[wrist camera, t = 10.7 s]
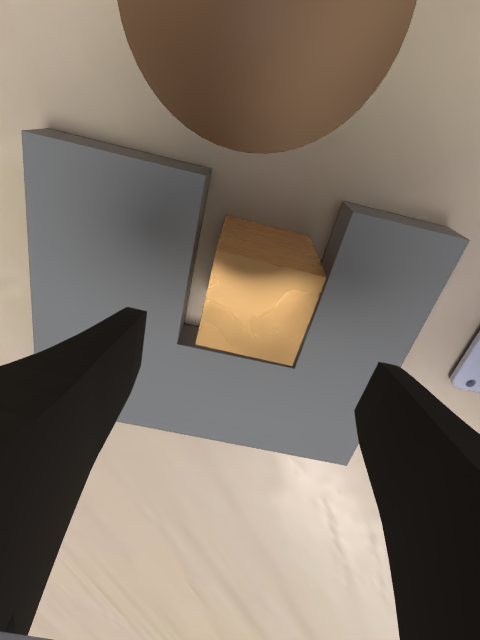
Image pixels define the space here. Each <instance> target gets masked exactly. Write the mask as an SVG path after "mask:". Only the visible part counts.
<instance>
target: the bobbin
mask: <svg viewBox="0 0 480 640" xmlns="http://www.w3.org/2000/svg"><path fill="white" fill-rule="evenodd" d="M117 1H118V6H119V11H120V16H121V21H122V24H123V28H124V31H125V34H126V37H127V40H128V44H129V46H130V49H131V51H132V53H133V56H134V58H135V60H136V63H137V65H138V67H139V69H140V70H141V72H142V74H143V76H144V78H145V79H146V81H147V83H148V85H149V86H150V87H151V89H152V90H153V92H154V93H155V94H156V96H157V97H158V99H159V100H160V101H161V102H162V104H163V105H164V106H165V107H166V108H167V109H168V110H169V111H170V112H171V113H172V115H173V116H175V117H176V118H177V119H178V120H179V121H180V122H181V123H183V124H184V125H185V126H186V127H187V128H189V129H190V130H192V131H193V132H195V133H196V134H198V135H199V136H201V137H202V138H205V139H207V140H209V141H211V142H213V143H215V144H217V145H220V146H223V147H226V148H229V149H232V150H236V151H242V152H248V153H275V152H283V151H287V150H291V149H295V148H299V147H302V146H304V145H306V144H309V143H311V142H314V141H316V140H318V139H320V138H322V137H323V136H325V135H327V134H329V133H330V132H332V131H333V130H335V129H336V128H337V127H339V126H340V125H341V124H343V123H344V122H346V121H347V120H348V119H349V118H350V117H351V116H352V115H353V114H354V113H355V112H356V111H358V110H359V109H360V108H361V107H362V106H363V104H364V103H365V102H366V101H367V100H368V99H369V97H370V96H371V95H372V94H373V93H374V91H375V90H376V89H377V87H378V86H379V84H380V83H381V81H382V80H383V78H384V77H385V76H386V74H387V73H388V71H389V69H390V67H391V65H392V63H393V62H394V60H395V58H396V56H397V54H398V52H399V50H400V48H401V45H402V43H403V40H404V38H405V36H406V33H407V31H408V28H409V25H410V22H411V18H412V15H413V12H414V8H415V5H416V0H117Z"/></svg>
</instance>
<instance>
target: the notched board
mask: <svg viewBox="0 0 480 640" xmlns="http://www.w3.org/2000/svg"><path fill="white" fill-rule="evenodd" d="M22 146H23V163H24V181H25V198H26V216H27V233H28V251H29V268H30V286H31V303H32V321H33V338H34V354H36V353H38V352H41V351H43V350H45V349H48V348H50V347H52V346H54V345H56V344H58V343H61V342H63V341H65V340H67V339H69V338H71V337H73V336H75V335H77V334H79V333H81V332H83V331H85V330H87V329H88V328H90V327H92V326H94V325H96V324H97V323H99V322H101V321H103V320H104V319H106V318H108V317H110V316H111V315H113V314H115V313H117V312H118V311H120V310H122V309H124V308H125V307H130V308H135V309H140V310H144V311H147V319H146V327H145V336H144V344H143V353H142V361H141V367H140V370H139V373H138V375H137V378H136V381H135V384H134V386H133V389H132V391H131V394H130V396H129V398H128V400H127V402H126V404H125V405H124V407H123V409H122V411H121V413H120V415H119V417H118V419H117V422H122V423H127V424H132V425H138V426H143V427H148V428H153V429H158V430H164V431H169V432H174V433H179V434H184V435H190V436H195V437H200V438H205V439H210V440H216V441H221V442H226V443H231V444H236V445H242V446H247V447H252V448H257V449H262V450H268V451H273V452H278V453H283V454H288V455H294V456H299V457H304V458H309V459H314V460H320V461H325V462H330V463H335V464H340V465H346V466H347V464H348V462H349V461H350V459H351V457H352V455H353V453H354V451H355V450H356V448H357V446H358V444H359V441H358V435H357V429H356V421H355V413H354V410H355V408H356V406H357V404H358V402H359V400H360V398H361V396H362V394H363V392H364V390H365V388H366V386H367V384H368V382H369V380H370V378H371V376H372V374H373V372H374V370H375V368H376V366H377V364H378V362H383V363H388V364H392V365H397V366H399V367H401V365H402V364H403V362H404V360H405V358H406V356H407V354H408V353H409V351H410V349H411V347H412V345H413V343H414V342H415V340H416V338H417V336H418V334H419V332H420V331H421V329H422V327H423V325H424V323H425V321H426V320H427V318H428V316H429V314H430V312H431V310H432V309H433V307H434V305H435V303H436V301H437V299H438V298H439V296H440V294H441V292H442V290H443V288H444V287H445V285H446V283H447V281H448V279H449V277H450V276H451V274H452V272H453V270H454V268H455V266H456V265H457V263H458V261H459V259H460V257H461V255H462V254H463V252H464V250H465V248H466V246H467V244H468V243H469V241H470V240H468V239H467V238H465V237H463V236H462V235H460V234H458V233H457V232H455V231H453V230H452V229H450V228H449V227H445V226H441V225H437V224H433V223H429V222H425V221H421V220H417V219H413V218H409V217H405V216H401V215H397V214H393V213H389V212H385V211H381V210H376V209H372V208H368V207H364V206H360V205H356V204H352V203H348V202H344V201H343V203H342V206H341V209H340V212H339V214H338V217H337V220H336V223H335V226H334V229H333V231H332V234H331V237H330V240H329V243H328V246H327V248H326V251H325V254H324V257H323V260H322V262H321V265H322V268H323V270H324V272H325V275H326V277H327V278H326V280H325V283H324V285H323V288H322V291H321V293H320V296H319V298H318V301H317V303H316V306H315V309H314V311H313V314H312V316H311V319H310V321H309V324H308V327H307V329H306V332H305V334H304V337H303V340H302V342H301V345H300V347H299V350H298V352H297V355H296V358H295V360H294V363H293V365H292V366H290V365H285V364H281V363H276V362H272V361H267V360H263V359H258V358H254V357H250V356H245V355H241V354H236V353H232V352H227V351H223V350H218V349H214V348H209V347H205V346H200V345H196V339H197V335H198V330H199V327H196V326H191V325H186V324H184V321H185V315H186V309H187V303H188V298H189V292H190V286H191V281H192V275H193V269H194V264H195V258H196V252H197V247H198V241H199V235H200V230H201V224H202V218H203V213H204V207H205V201H206V195H207V190H208V184H209V178H210V173H211V169H210V168H206V167H202V166H198V165H194V164H190V163H186V162H182V161H178V160H174V159H170V158H166V157H162V156H158V155H154V154H149V153H145V152H141V151H137V150H133V149H129V148H125V147H121V146H117V145H113V144H109V143H105V142H101V141H97V140H93V139H89V138H85V137H81V136H77V135H72V134H68V133H64V132H60V131H56V130H52V129H48V128H47V129H35V130H22Z"/></svg>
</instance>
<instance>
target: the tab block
mask: <svg viewBox="0 0 480 640" xmlns="http://www.w3.org/2000/svg"><path fill="white" fill-rule="evenodd" d="M326 278H327V277H326V275H325V272H324V270H323V268H322V265H321V263H320V260H319V258H318V256H317V253H316V251H315V249H314V246H313V244H312V242H311V239H310V237H309V236H306V235H302V234H298V233H294V232H290V231H286V230H282V229H279V228H275V227H271V226H267V225H263V224H259V223H255V222H251V221H247V220H243V219H239V218H235V217H232V216H228V215H226V218H225V221H224V225H223V228H222V232H221V235H220V239H219V242H218V245H217V249H216V253H215V258H214V262H213V267H212V271H211V276H210V280H209V285H208V289H207V294H206V298H205V303H204V307H203V312H202V317H201V321H200V326H199V330H198V335H197V339H196V345H200V346H205V347H209V348H214V349H218V350H223V351H227V352H232V353H236V354H241V355H245V356H250V357H254V358H258V359H263V360H267V361H272V362H276V363H281V364H285V365H290V366H292V365H293V363H294V360H295V358H296V355H297V352H298V350H299V347H300V345H301V342H302V340H303V337H304V334H305V332H306V329H307V327H308V324H309V321H310V319H311V316H312V314H313V311H314V309H315V306H316V303H317V301H318V298H319V296H320V293H321V291H322V288H323V285H324V283H325V280H326Z"/></svg>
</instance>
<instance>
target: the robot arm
mask: <svg viewBox="0 0 480 640" xmlns="http://www.w3.org/2000/svg"><path fill="white" fill-rule="evenodd" d="M146 319H147V311H144V310H140V309H135V308H130V307H125V308H124V309H122V310H120V311H118V312H117V313H115V314H113V315H111V316H110V317H108V318H106V319H104V320H103V321H101V322H99V323H97V324H96V325H94V326H92V327H90V328H88V329H87V330H85V331H83V332H81V333H79V334H77V335H75V336H73V337H71V338H69V339H67V340H65V341H63V342H61V343H58V344H56V345H54V346H52V347H50V348H48V349H45V350H43V351H41V352H38V353H36V354H33V355H31V356H28V357H25V358H22V359H20V360H17V361H14V362H11V363H9V364H5V365H2V366H0V640H52V639H45V638H39V637H32V636H28V633H29V630H30V627H31V625H32V622H33V619H34V616H35V613H36V611H37V608H38V605H39V602H40V600H41V597H42V594H43V591H44V589H45V586H46V583H47V580H48V578H49V575H50V573H51V570H52V567H53V565H54V562H55V559H56V557H57V554H58V551H59V549H60V546H61V543H62V541H63V538H64V536H65V533H66V531H67V528H68V526H69V523H70V520H71V518H72V515H73V513H74V510H75V508H76V505H77V503H78V500H79V498H80V495H81V493H82V490H83V488H84V486H85V483H86V481H87V478H88V476H89V473H90V471H91V469H92V467H93V465H94V462H95V460H96V458H97V456H98V454H99V452H100V451H101V449H102V447H103V445H104V443H105V441H106V439H107V437H108V436H109V434H110V432H111V430H112V428H113V426H114V424H115V422H116V421H117V419H118V417H119V415H120V413H121V411H122V409H123V407H124V405H125V404H126V402H127V400H128V398H129V396H130V394H131V391H132V389H133V386H134V384H135V381H136V378H137V375H138V373H139V370H140V367H141V361H142V353H143V344H144V336H145V327H146ZM468 380H471V381H470V382H467V381H468ZM450 381H451V383H452V384H453V386H454V387H457V388H460V389H465V390H470V391H474V392H479V393H480V331H479V333H478V334H477V336H476V337H475V339H474V340H473V342H472V343H471V345H470V347H469V348H468V350H467V351H466V353H465V354H464V356H463V358H462V359H461V361H460V362H459V364H458V365H457V367H456V369H455V370H454V372H453V373H452V375H451V377H450ZM354 413H355V421H356V429H357V435H358V441H359V444H360V448H361V451H362V455H363V458H364V462H365V465H366V469H367V472H368V476H369V479H370V482H371V486H372V489H373V492H374V496H375V499H376V502H377V506H378V509H379V513H380V517H381V521H382V526H383V531H384V536H385V542H386V547H387V552H388V558H389V564H390V570H391V577H392V583H393V590H394V596H395V604H396V612H397V620H398V628H399V636H400V640H480V434H479V433H477V432H476V431H475V430H474V429H472V428H471V427H470V426H469V425H467V424H466V423H465V422H464V421H463V420H461V419H460V418H459V417H458V416H457V415H456V414H454V413H453V412H452V411H451V410H450V409H449V408H447V407H446V406H445V405H444V404H443V403H442V402H441V401H439V400H438V399H437V398H436V397H435V396H434V395H433V394H431V393H430V392H429V391H428V390H427V389H426V388H425V387H424V386H422V385H421V384H420V383H419V382H418V381H417V380H415V379H414V378H413V377H412V376H411V375H409V374H408V373H407V372H406V371H404V370H403V369H402V368H400V367H399V366H397V365H392V364H388V363H383V362H378V364H377V366H376V368H375V370H374V372H373V374H372V376H371V378H370V380H369V382H368V384H367V386H366V388H365V390H364V392H363V394H362V396H361V398H360V400H359V402H358V404H357V406H356V408H355V410H354Z"/></svg>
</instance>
